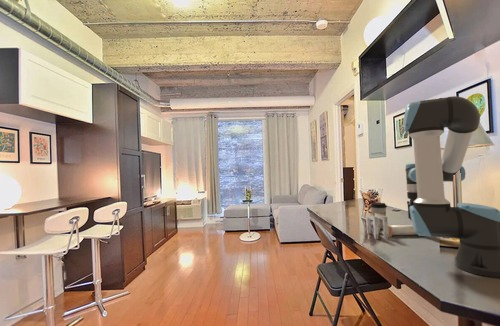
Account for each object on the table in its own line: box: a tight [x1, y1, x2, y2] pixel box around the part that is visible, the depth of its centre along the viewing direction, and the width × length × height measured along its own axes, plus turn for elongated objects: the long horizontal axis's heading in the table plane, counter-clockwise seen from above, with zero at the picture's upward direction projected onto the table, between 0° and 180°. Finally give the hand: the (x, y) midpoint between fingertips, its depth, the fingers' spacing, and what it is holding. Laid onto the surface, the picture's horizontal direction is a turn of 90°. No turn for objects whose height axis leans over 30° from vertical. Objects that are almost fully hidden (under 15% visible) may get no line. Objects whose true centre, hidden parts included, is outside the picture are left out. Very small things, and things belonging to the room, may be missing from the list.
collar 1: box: [365, 212, 379, 240], centre depth 133 cm, size 12×2×12 cm, turn 174°
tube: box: [388, 224, 418, 238], centre depth 131 cm, size 20×5×5 cm, turn 84°
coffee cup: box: [369, 202, 388, 230], centre depth 148 cm, size 9×9×15 cm
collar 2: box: [375, 213, 390, 240], centre depth 132 cm, size 12×2×12 cm, turn 174°
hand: (418, 233), depth 130 cm, fingers closed on tube, 5 cm apart
